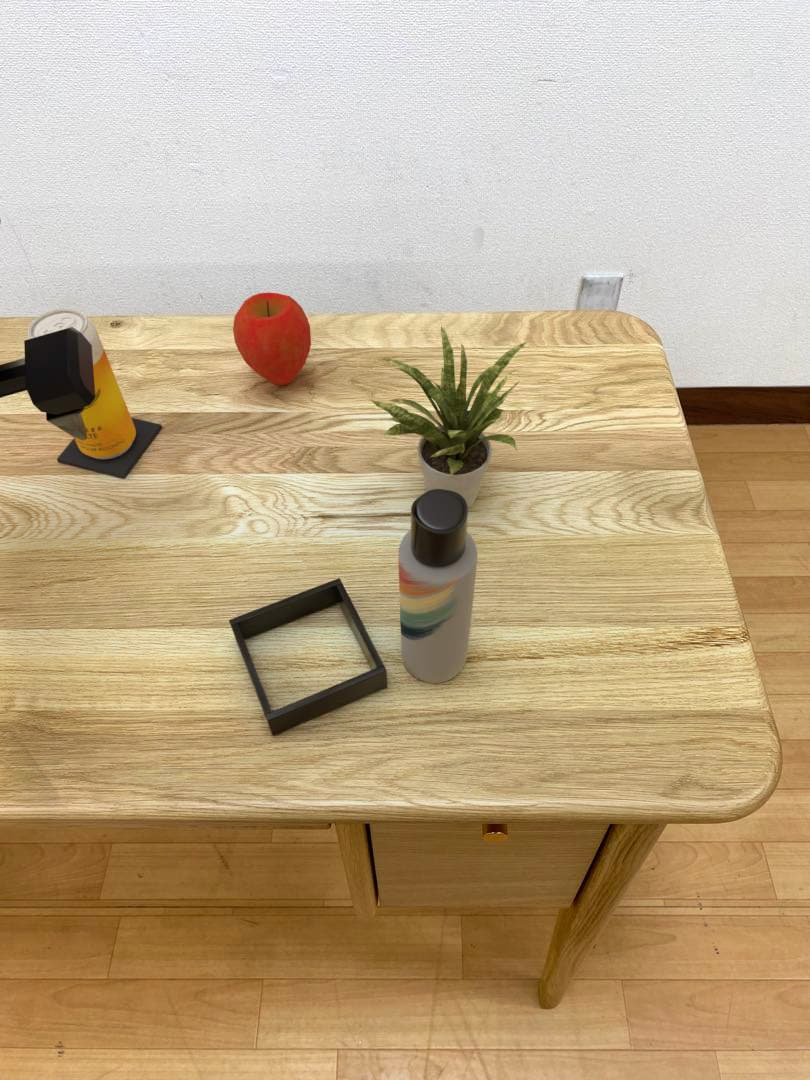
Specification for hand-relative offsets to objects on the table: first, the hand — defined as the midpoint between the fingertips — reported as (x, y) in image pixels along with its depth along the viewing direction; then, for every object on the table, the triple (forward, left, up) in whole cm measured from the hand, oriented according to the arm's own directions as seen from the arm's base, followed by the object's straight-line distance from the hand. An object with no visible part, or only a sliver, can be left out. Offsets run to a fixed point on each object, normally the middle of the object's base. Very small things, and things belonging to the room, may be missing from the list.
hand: (34, 449), depth 66 cm
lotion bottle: (+25, -27, -12) cm, 39 cm away
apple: (+25, +13, -12) cm, 31 cm away
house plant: (+36, -10, -12) cm, 39 cm away
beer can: (+5, +11, -11) cm, 16 cm away
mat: (+5, +11, -12) cm, 17 cm away
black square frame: (+15, -23, -12) cm, 30 cm away
